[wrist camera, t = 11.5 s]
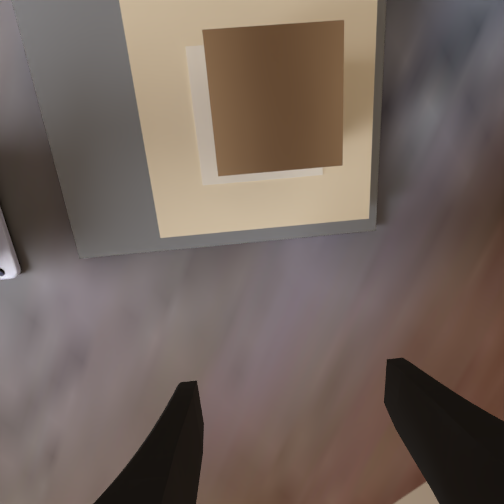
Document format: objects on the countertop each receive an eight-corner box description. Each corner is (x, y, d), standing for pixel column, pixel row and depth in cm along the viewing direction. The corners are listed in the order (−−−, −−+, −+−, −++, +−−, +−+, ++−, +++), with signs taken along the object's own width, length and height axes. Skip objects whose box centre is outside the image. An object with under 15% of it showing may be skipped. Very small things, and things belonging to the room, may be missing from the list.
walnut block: (221, 162, 16) (218, 176, 11) (211, 69, 15) (202, 29, 9) (302, 155, 16) (342, 165, 11) (300, 63, 15) (344, 20, 9)
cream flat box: (86, 253, 21) (58, 275, 18) (17, -18, 16) (-39, -58, 13) (369, 226, 22) (395, 243, 18) (379, -40, 17) (417, -84, 14)
